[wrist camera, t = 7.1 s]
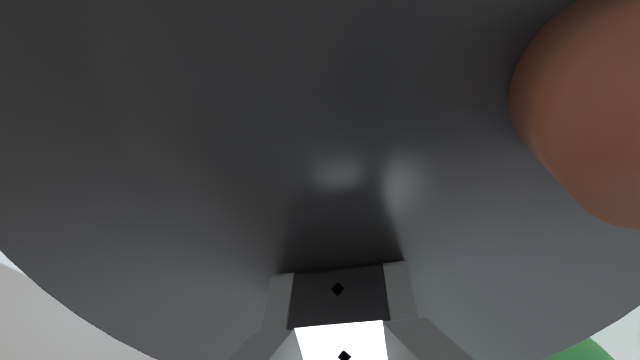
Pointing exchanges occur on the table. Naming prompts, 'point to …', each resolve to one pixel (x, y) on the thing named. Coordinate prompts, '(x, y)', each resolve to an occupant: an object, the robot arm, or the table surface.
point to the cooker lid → (324, 161)
